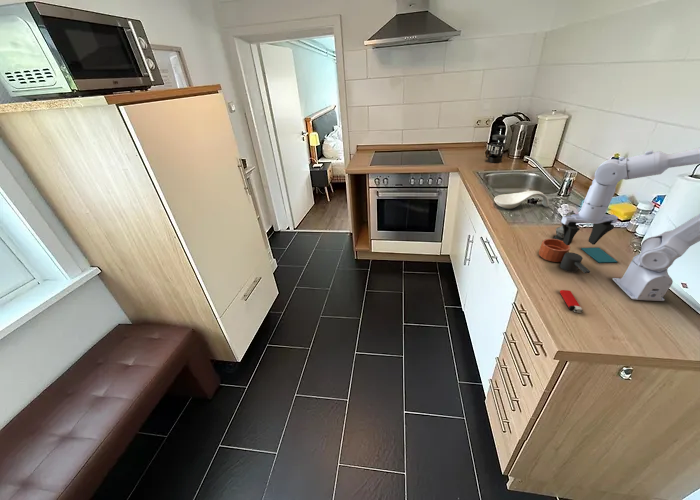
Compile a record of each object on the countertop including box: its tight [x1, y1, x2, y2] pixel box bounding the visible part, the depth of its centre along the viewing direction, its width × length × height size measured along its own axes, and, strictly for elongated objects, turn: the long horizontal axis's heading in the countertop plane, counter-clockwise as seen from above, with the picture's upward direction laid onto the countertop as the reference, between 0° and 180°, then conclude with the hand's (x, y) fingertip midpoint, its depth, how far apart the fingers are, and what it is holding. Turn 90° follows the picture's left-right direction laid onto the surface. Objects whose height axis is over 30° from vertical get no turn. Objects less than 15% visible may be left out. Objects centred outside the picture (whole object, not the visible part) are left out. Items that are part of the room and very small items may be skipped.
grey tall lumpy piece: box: [553, 209, 576, 241], centre depth 107 cm, size 6×6×12 cm
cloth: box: [580, 247, 618, 264], centre depth 99 cm, size 6×9×1 cm, turn 178°
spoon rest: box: [493, 190, 550, 210], centre depth 135 cm, size 24×12×7 cm, turn 86°
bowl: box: [538, 238, 571, 263], centre depth 99 cm, size 8×8×5 cm
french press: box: [485, 125, 508, 164], centre depth 194 cm, size 12×9×23 cm
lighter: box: [559, 289, 584, 314], centre depth 81 cm, size 3×1×8 cm
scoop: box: [559, 251, 591, 274], centre depth 91 cm, size 10×5×5 cm, turn 178°
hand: (578, 243), depth 90 cm, fingers open, 7 cm apart
